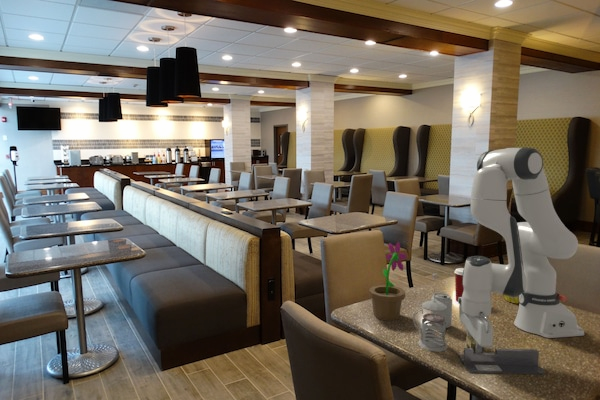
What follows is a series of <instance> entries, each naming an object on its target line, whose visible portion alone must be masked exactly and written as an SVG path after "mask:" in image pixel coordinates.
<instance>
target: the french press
mask: <svg viewBox="0 0 600 400" xmlns="http://www.w3.org/2000/svg"><path fill="white" fill-rule="evenodd" d="M432 278H434V280H436V278H437V279H438V278H439V274H438V273H433V274H432ZM435 293H436V289H434V293H433V294H434V301H433V300H432V301H431V300H428V301H427V300H426V301H423V303H421V306H422V308H421V307H420V308H418V309H416V310H415V312H414V314H412V315H413V320H412V322H413V324H414V327H415V328H416V329H417V330H419V331H420V339H419V340H418V342H417V344H418V345H419V347H421V348H422V349H423V350H426V351H429V352H444V351H447V350H448V348H449V345H448V344H447V342H446V329H447V328H446V322H445V321H444V320H445V318H444V317H443V316H441V315H439V314H434V313H431V311H444V310H446V309H447V306H446V305H444V304H443V303H441V302H439V301H435ZM423 309H425V310H427V311H430V312H429V313H425V314H424V310H423ZM419 312H421V314H423V315H422V319H421V327H420V326H418V325H417V324H416V322H415V319H416V315H417V314H418V313H419ZM432 322H433V323H432ZM434 323H437V324H439V325H441V326H437V325H436V324H434ZM432 324H433V325H434V326H433V325H432ZM435 326H436V327H435Z"/></svg>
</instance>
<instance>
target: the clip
mask: <svg viewBox="0 0 600 400" xmlns="http://www.w3.org/2000/svg"><path fill="white" fill-rule="evenodd" d="M465 338H466V339H465V348H473V350H474V349H475V346H476V340H475V339H474V338H473V337H472V336H467V335H466V337H465ZM484 348H485V347H482V353H484ZM473 353H476V351H475V350H474V352H473Z"/></svg>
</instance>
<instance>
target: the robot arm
mask: <svg viewBox="0 0 600 400" xmlns="http://www.w3.org/2000/svg"><path fill="white" fill-rule="evenodd" d="M476 162H477V164H476V172H475V174H474V178H473V182H472V188H471V193H470V213H471V216H472V218H473V219H474V220H475V221H476V222H477V223H479V224H480V225H481V226H484V227H485V228H488V229H490V230H491V231H494V232H496V233H498V234H499V235H501V236H502V237H503V240H504V241H505V245H506V253H507V254H506V255H507V261H508V264H500V263H494V262H493V263H492V261H491V259H490V258H488V257H487V256H483V255H474V256H473V255H472V256H469V257H467V258H466V260H465V263H464V267H463V268H464V270H463V287H464V291H463V294H462V297H459V298H458V302H457V303H458V305H459V307H458V309H459V310H458V314H459V315H458V316H459V321H460V323H461V325H463V327H464V328H465V330H466V331H465V332H466V336H472V337H473V338H474V339H475V340H476V346H475V349H474V350H475V351H476V353H482V347H484V348H491V347H492V346H493V345H494V334H493V333H494V329H493V328H494V327H493V324H492V322H491V321H490V319H489V316H492V302H493V301H492V294H491V293H493V294H494V293H495V294H500V295H503V296H505V295H506V296H510V297H516V296H519V303H520V304H519V303H518V305H519V306H518V310H517V314H516V317H515V319H514V322H513V324H514V326H516V328H518V329H519V330H522V331H524V332H527V333H530V334H535V335H538V336H540V337H541V336H542V337H544V338H547V339H552V338H553V339H557V338H568V337H582V336H585V330H584V329H583V328H582V327H581V326H580V325H578V320H577V317H576V315H575V313H573V312H572V311H571V310H569V308H567V307H566V305H564V304H563V303H561V302H566V301H567V296H565V295H563V294H559V292H556V287H557V272H556V270H555V268H554V267H553V266H552V265H551V263H550V261H549V258H551V259H558V260H568V259H570V258H572V257H573V256H574V255H575V254H576V253H577V250H578V248H579V241H578V238H577V236H576V235H575V234H574V233H573V232H572V231H570V229H568V228H567V227H566V226H565V224H564V223H563V222H562V221H561V219H560V217H559V216H558V214H557V212H556V210H555V208H554V204H553V200H552V196H551V191H550V187H549V182H548V179H547V175H546V172H545V170H544V159H543V156H542V154H541V153H540V152H539V151H538V149H537V148H532V147H525V146H524V147H506V148H501V149H500V148H499V149H496V150H495V149H490V150H487V151H485V152H483V153H481V154H480V156H479V157H478V160H477V161H476ZM509 181H512V191H513V195H514V199H515V204H516V209H517V212H518V214H519V215H520V217H522V218H523V219H524V220H525V221H520V222H517V220H516V218H515V217H514V216H512V215H511V214H510V212H509V210H508V205H507V199H508V198H507V197H508V189H507V188H508V187H507V184H508V182H509ZM560 301H561V302H560Z"/></svg>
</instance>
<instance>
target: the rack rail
mask: <svg viewBox="0 0 600 400" xmlns="http://www.w3.org/2000/svg"><path fill="white" fill-rule="evenodd" d="M473 352H474V350H473V348H466V347H463V354H458V357H459V359H460V360H461V363H463V365H464V367H465V368H466V370H467V371H468V372H469V373H471V374H473V373H474V374H505V375H506V374H509V375H542V374H546V371H545V370H543V368H541V366H540V365H539V355H540V354H539V353H540V351H539V350H538V349H534V348H533V349H529V348H528V349H526V348H524V349H523V348H495V349H494V352H483V353H473Z"/></svg>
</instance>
